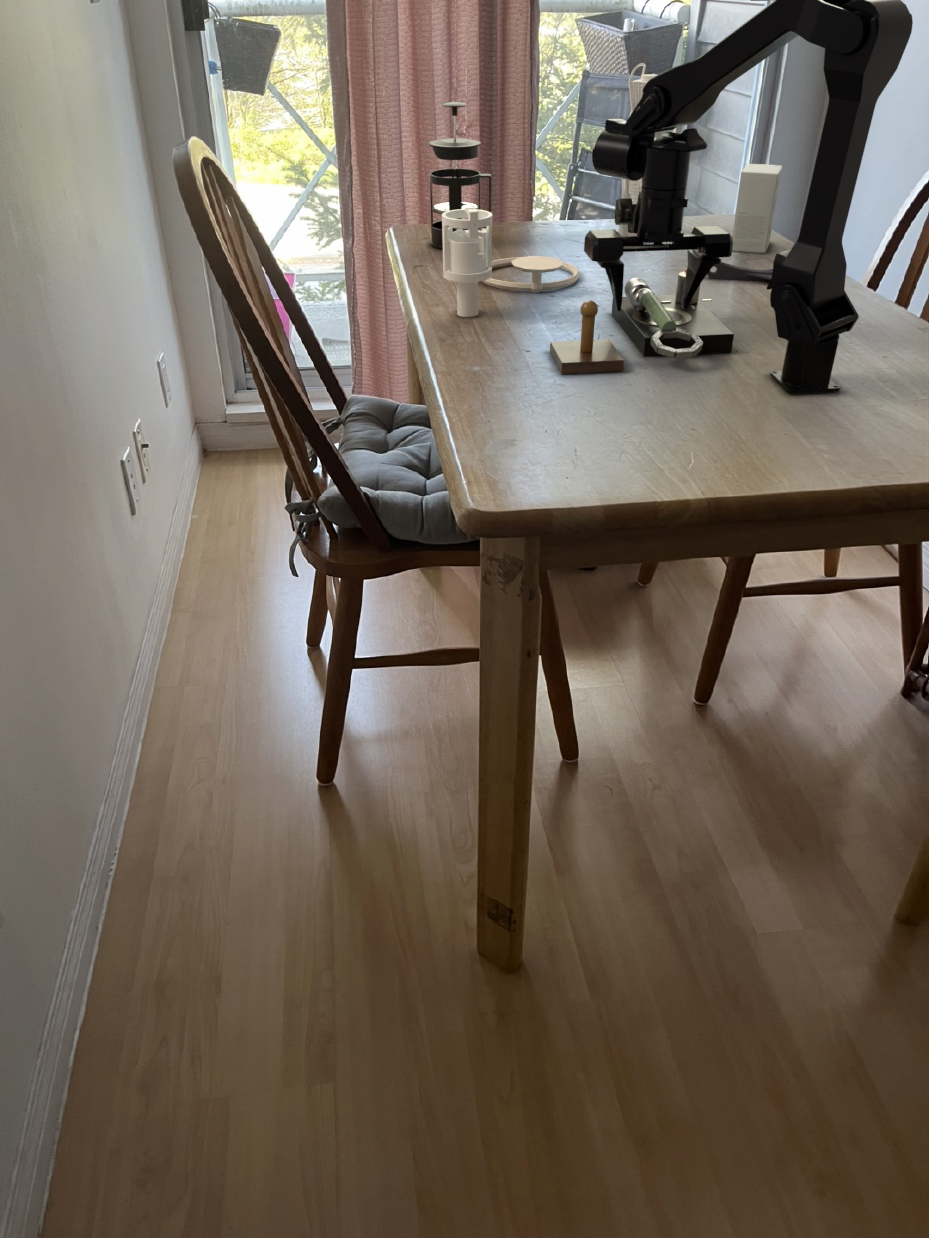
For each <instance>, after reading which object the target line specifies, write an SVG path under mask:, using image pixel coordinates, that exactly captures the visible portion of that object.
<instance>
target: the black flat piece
mask: <svg viewBox="0 0 929 1238" xmlns="http://www.w3.org/2000/svg"><path fill="white" fill-rule="evenodd" d="M712 268H716V270H715V271H711V270H710V271H709V272H708V274H707V275H706V276H707V277H708V278H710V279H717V280H739V281H762V282H770V281H771V278H772V273H773V268H769V269H753V268H748V267H747V268H746V267H741V266H737V265H733V264H729V263H726V262H723V261H721V263H720V264H715V265H714V266H713V267H712Z"/></svg>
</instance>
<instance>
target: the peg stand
mask: <svg viewBox="0 0 929 1238" xmlns="http://www.w3.org/2000/svg"><path fill="white" fill-rule="evenodd" d="M598 311H599V306H598V303H596V301H594V300H590V299H588V300H585V301H584V302H583V303H582V304H581V306H580V315H581V316H582V317H581V331H580V332H581V333H580V340H565V341H564V340H563V341H550V342H549V343H550V344H549V354H550V356H551V358H552V359H553V361H554V363H555V365H556V367H557V369H558V371H559V372H560V375H574V374H575V375H577V374H597V373H617V372H624V366H625V365H624V364H625V359H624V358H623V356H622V355H621V354H620V352H619V351H618V350H617V348H616V347H615V345H614V344H613V343H612V340H610V339H594V337H595V336H594V335H595V324H596V323H595V322H596V316H597V314H598V313H599V312H598Z"/></svg>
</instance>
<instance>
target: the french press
mask: <svg viewBox="0 0 929 1238" xmlns="http://www.w3.org/2000/svg"><path fill="white" fill-rule="evenodd" d="M467 106H468V104H467V103H465V102H460V101H450V102H444V103H443V104H442V105H441V107H444V108H451V116H452V117H453V137H449V138H442V139H435V140H431V141H429V143H428V144H429V146H430V147H432V151H433V153H434V154H435V157H436V158H437V159H439V160H442V161H443V160H444V161H453V168H442V169H436V170H433V171H430V173H429V186H430V188H429V190H430V222H431V223H430V227H431V228H430V230H431V231H430V232H431V240H430V243H429V244H430V246H431V247H432V248H435V249H438V250H442V251H443V238H442V220H438V221H435V222H434V213H435V214H439V215H442V214H443V213H444V212H447V211H451V210H457V209H465V208H466V207H474V208H475V209H478V210H481V194H482V193H481V191H482V189H481V187H482V186H481V181H482V180H481V178H483V179H484V178H487V179H488V178H489V179H488V212H491V213H492V174H490V173H481V171H479V170H475V169H472V168H471V169H470V168H457V161H464V160H473V159H476V158H478V157H479V147H480V146H481V144H482V143H481V141H479V140H477V139H470V138H465V137H464V138H463V137H457V116H458V108H463V107H467ZM477 184H478V204H475V203H473V202H467V201H463V199H462V197H463V195H462V194H463V193H462V191H463V187H467V186H468V187H469V186H474V185H477ZM433 185H437V186H442V187H448V202H439V203H436V204H434V205H433V203H434V202H433V200H434V199H433ZM457 219H462V220H463V218H457ZM448 227H449V226H448ZM482 228H484V229H486V227H482ZM482 228H478V230H480V231H481V229H482ZM452 229H453V232H455V231H456V229H458V228H452ZM463 230H468V229H463Z"/></svg>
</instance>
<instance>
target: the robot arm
mask: <svg viewBox="0 0 929 1238" xmlns="http://www.w3.org/2000/svg"><path fill="white" fill-rule="evenodd" d="M913 20H914V19H913V15H912V13H911V12H910V10H909V8H908V6H907V4H905V3H904V2H903V1H902V0H773V1H771V2H770V3H769V4H767V5H766V6H765V7H764V8H763V9H761V10H760V11H758V12H757V13H756V14H755V15H753V16H751V18H749V19H748V20H746V21H745V22H744V23H743V24H741V25H740V26H739V27H737V28H736V29H734V30H733V31H732V32H730V33H729V34H727V35H726V36H725V37H724V38H723V39H721V40H720V41H718V42H717V43H716V44H715V45H713V46H712V47H711V48H709V49H708V50H706V51H705V52H704V53H703V54H701V55H700V56H699V57H697V58H695V59H693V60H690V61H687V62H685V63H682V64H679V65H676V66H673V67H671V68H669V69H667V70H665V71H663V72H661V73H659V74H656V75H657V76H655V77H653V78H651V79H650V80H649V81H648V82H647V83H646V84H645V86H644V88H643V95H642V98H641V100H640V101H639V103H638V104H637V106H636V108H635V109H634V111H633V112H632V114H631V115H630V114H629V116H630V117H629V116H628V118H627V120H625V119H622V118H615V117H614V118H609V119H606V120H605V122H604V130H603V131H602V132H601V133H600V134H599V136H598V137H597V139H596V141H595V143H594V147H593V148H592V151H591V162H592V166H593V168H594V170H595V171H596V173H598V174H599V175H600V176H606V177H612V178H617V179H621V180H622V179H627V180H632V181H637V180H639V179H641V178H642V186H641V191H639V195H638V201H637V204H632V199H631V198H622V197H620V198H617V199H616V200H615V207H614V208H615V209H614V224H615V225H616V226H619V225H628V233H637V236H630V237H622V236H621V235H620V234H619V233H618V232H617V231H618V230H616V229H613V228H612V229H590V230H588V232H587V233H586V234H585V237H584V243H583V244H584V245H583V252H584V253H585V255H586V256H587V257H588V258H589V259H590V261H592V262H595V263H597V264H598V265H599V267H600V268H602V269H604V270H605V273H606V275H607V279H608V281H609V282H608V283H609V286H610V290H611V294H612V300H613V299H614V303H615V307H616V310H617V311H620V310H621V305H622V297H624V296H623V295H624V276H625V263H624V262H623V261H622V260H621V258H622V257H623V256H624V253H632V252H634V253H635V252H636V253H638V252H666V251H686V253H687V268H686V269H687V272H686V277H685V282H684V287H683V293H682V303H681V306H682V308H683V309H686V308H687V306H688V304H689V303H690V301H691V299H692V297H693V296H694V294H695V292H696V290H697V289H698V287H699V285H700V286H701V284H702V282H703V281H704V279H705V278H706V277H707V276H708V275H707V274H708V272H709V271H711V269H712V268H714V267H713V266H714V265H715V264H720V263H721V262H722V258H731V257H732V254H733V251H732V248H733V238H732V235H731V234H730V232H728V231H726V230H725V229H724V228H723V227H721V226H719V225H703V226H701V225H700V226H699V225H698V226H694V227H693V229H692V230H691V232H690V233H691V234H685V232H683V231H682V230H683V224H684V223H683V222H684V213H685V208H688V203H689V198H687V197H686V196H687V188H688V179H689V171H690V163H691V155H692V153H693V152H697V151H704V150H707V148H708V144H707V142H706V141H705V139H704V138H703V137H702V136H701V135H700V133H699V131H698V129H697V128H696V127H692V128H686V129H684V130H683V131H682V132H681V133H679V132H673V130H675V129H676V128H678V127H683V126H687V125H692V124H694V123H696V122H697V121H698V120H700V119H701V118H702V116H704V115H705V113H706V112H708V110H709V109H711V108H712V106H714V105H715V103H716V101H717V99H718V98H719V96H720V94H721V93H722V91H724V90H725V89H726V88H727V87H728V86H729V85H730V84H731V83H733V82H734V81H736V80H737V79H739V78H740V77H742V76H743V75H745V74H746V73H748V72H749V71H750V70H751V69H753V68H754V67H756V66H757V65H758V64H760V63H761V62H763V61H764V60H766V59H767V58H769V57H770V56H772V55H773V54H775V53H776V52H778V51H779V50H781V48H783V47H785V46H786V45H787V44H789V43H790V42H791V41H793V40H794V39H796V38H797V37H798V36H799V37H801V38H802V39H803V40H805V41H806V42H808V43H810V44H813V45H816V46H818V47H821V48H823V49H824V50H823V51H824V52H823V64H822V66H823V67H822V70H823V75H824V82H825V85H826V90H827V95H828V98H827V99H828V101H827V107H826V110H825V115H824V120H823V123H822V128H821V133H820V137H819V142H818V145H817V146H818V147H817V151H816V155H815V160H814V163H813V169H812V174H811V178H810V183H809V187H808V190H807V191H808V192H807V196H806V201H805V205H804V208H803V209H804V210H803V214H802V218H801V223H800V228H799V231H798V236H797V238H796V241H795V242H794V244H793V246H792V247H791V249H787V250H784V251H781V252H780V251H779V252H777V253H775V256H774V258H773V262H772V269H773V273H772V278H771V281H769V283H768V285H767V286H766V290H767V291H768V290H770V293H769V304H770V308H772V309H773V311H774V316H775V325H776V332H777V337H778V338H779V339H784V340H786V341H787V342H786V343H787V344H786V349H785V354H784V360H783V363H782V364H783V365H782V369H781V370H772V371H770V374H769V376H770V377H771V378H772V379H773V380H774V381H775V382H776V383H777V384H778V385H779V386H780V387H781V388H783V389H784V391H785V392H786V393H788V394H793V395H794V394H796V395H797V394H813V393H814V394H815V393H835V392H840V390H841V385H839V384H838V383H836V382H835V381H834V380H833V379H832V378H831V377H832V373H833V367H834V363H835V359H836V354H837V350H838V347H839V340H840V335H842V334H844V333H848V332H850V331H852V329H853V328H854V326H855V324H856V323H857V321H858V320H859V318H860V316H859V314H858V311H857V310H856V308H855V306H854V304H853V302H852V301H851V299H850V297H849V296H848V294H847V292H846V290H845V287H846V286H845V285H846V277H847V260H846V255H845V250H844V247H843V239H844V238H843V237H844V233H845V229H846V224H847V221H848V217H849V213H850V209H851V205H852V201H853V196H854V194H855V188H856V185H857V181H858V177H859V173H860V169H861V166H862V161H863V156H864V154H865V153H864V152H865V149H866V144H867V142H868V136H869V133H870V129H871V125H872V121H873V118H874V113H875V108H876V106H877V102H878V100H879V98H880V96H882V95H881V94H882V93H883V92H884V91H885V89H886V87H887V85H888V84H889V82H890V81H891V79H892V78H893V76H894V74H895V73H896V71H897V70H898V68H899V65H900V63H901V61H902V58H903V55H904V53H905V52H906V48H907V45H908V43H909V40H910V38H911V35H912V31H913V24H914V22H913ZM662 131H663V134H661V135H660V136H659V137H658V138H655V133H656V132H662Z"/></svg>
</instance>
